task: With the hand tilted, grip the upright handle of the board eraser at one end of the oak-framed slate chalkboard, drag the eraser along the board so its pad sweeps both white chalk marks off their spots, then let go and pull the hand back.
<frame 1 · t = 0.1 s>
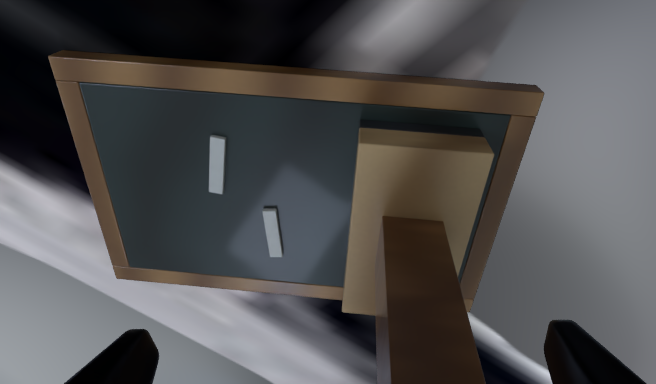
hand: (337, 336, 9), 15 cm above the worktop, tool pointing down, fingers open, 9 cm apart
eraser: (403, 213, 24), point 1 cm above the worktop, touching chalkboard
chalkboard: (293, 192, 25), on the worktop
chalk mark 1: (273, 232, 25), point 1 cm above the worktop, touching chalkboard
chalk mark 2: (218, 164, 23), point 1 cm above the worktop, touching chalkboard
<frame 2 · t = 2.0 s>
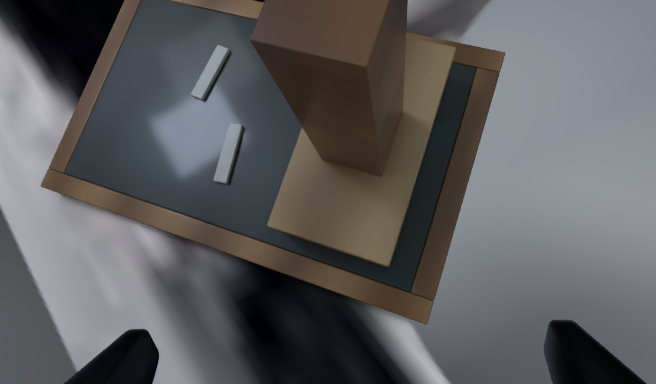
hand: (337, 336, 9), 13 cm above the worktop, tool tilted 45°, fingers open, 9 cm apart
eraser: (366, 153, 22), point 1 cm above the worktop, touching chalkboard
chalkboard: (264, 130, 25), on the worktop
chalk mark 1: (229, 153, 24), point 1 cm above the worktop, touching chalkboard
chalk mark 2: (211, 73, 25), point 1 cm above the worktop, touching chalkboard
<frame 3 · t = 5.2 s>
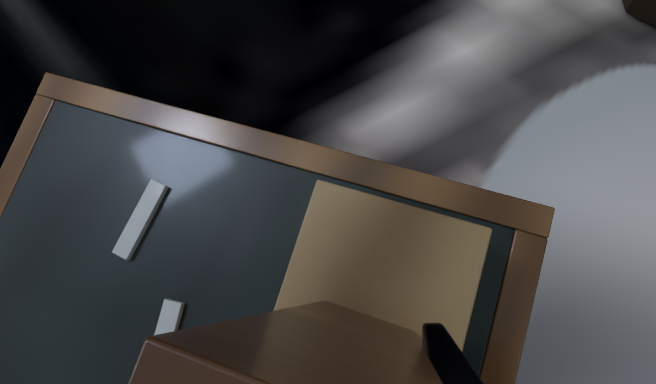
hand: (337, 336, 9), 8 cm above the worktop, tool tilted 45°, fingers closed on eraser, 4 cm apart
eraser: (358, 355, 16), point 1 cm above the worktop, touching chalkboard, gripper
chalkboard: (217, 298, 18), on the worktop
chalk mark 1: (164, 344, 17), point 1 cm above the worktop, touching chalkboard
chalk mark 2: (142, 219, 18), point 1 cm above the worktop, touching chalkboard
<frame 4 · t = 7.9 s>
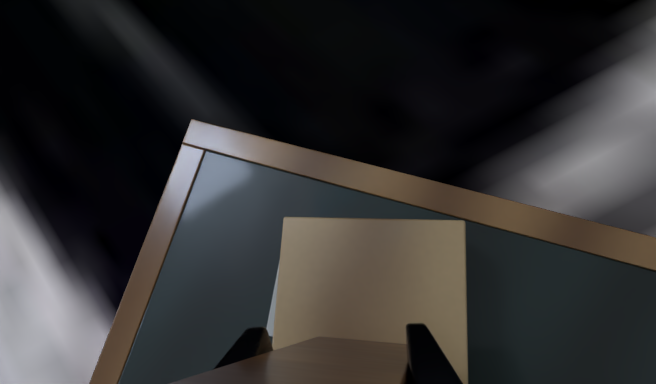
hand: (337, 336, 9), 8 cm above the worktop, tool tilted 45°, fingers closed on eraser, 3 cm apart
eraser: (373, 383, 15), point 2 cm above the worktop, tilted 5°, touching gripper
chalkboard: (406, 372, 16), on the worktop
chalk mark 2: (285, 290, 16), point 1 cm above the worktop
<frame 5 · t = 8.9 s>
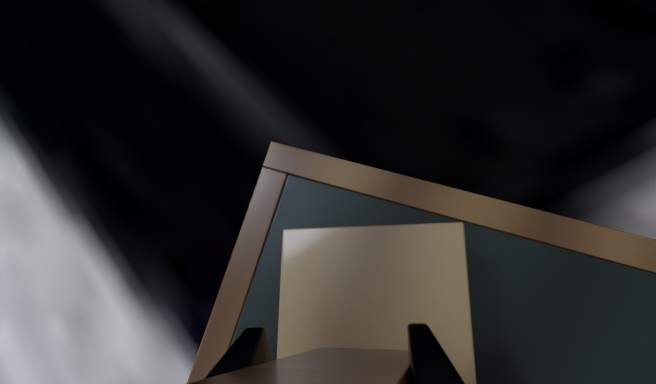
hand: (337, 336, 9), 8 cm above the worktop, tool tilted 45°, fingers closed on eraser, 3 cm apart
when the fingers open (8 cm above the worktop, at t = 9.6 s): eraser stays where it is, resting on chalkboard.
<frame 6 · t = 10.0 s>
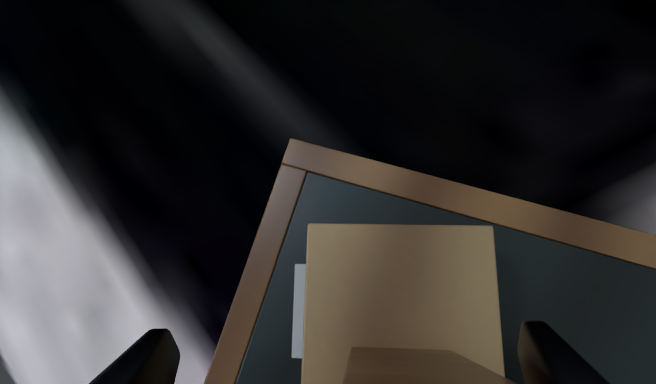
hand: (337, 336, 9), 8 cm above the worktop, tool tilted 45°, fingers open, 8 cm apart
chalk mark 2: (304, 309, 16), point 1 cm above the worktop, touching chalkboard
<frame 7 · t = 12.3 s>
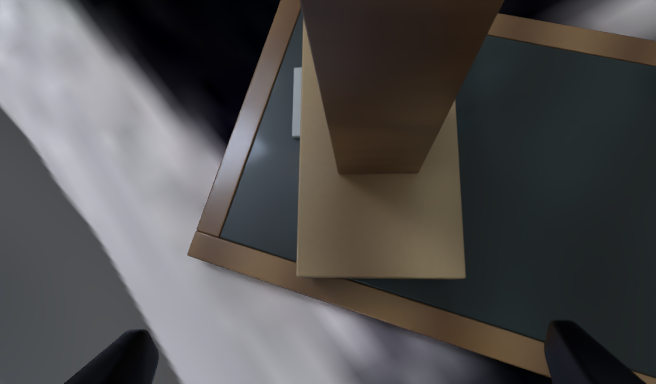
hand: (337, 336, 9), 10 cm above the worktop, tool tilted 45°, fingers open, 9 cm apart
eraser: (375, 153, 19), point 1 cm above the worktop, touching chalk mark 1, chalkboard
chalkboard: (485, 176, 19), on the worktop
chalk mark 2: (302, 103, 20), point 1 cm above the worktop, touching chalkboard
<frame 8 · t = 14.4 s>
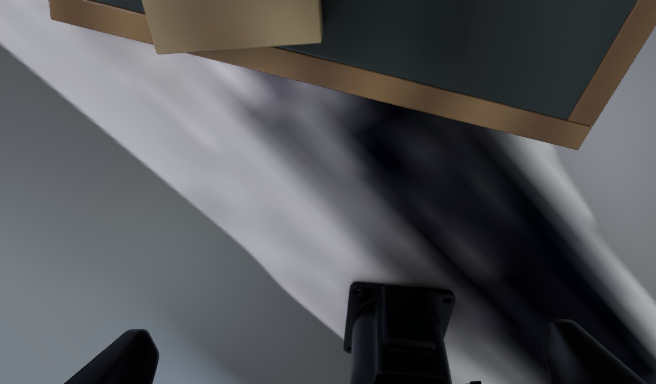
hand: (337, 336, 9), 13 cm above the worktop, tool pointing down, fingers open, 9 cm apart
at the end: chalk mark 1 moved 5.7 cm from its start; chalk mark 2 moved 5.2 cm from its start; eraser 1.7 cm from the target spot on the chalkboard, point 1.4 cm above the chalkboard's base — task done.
